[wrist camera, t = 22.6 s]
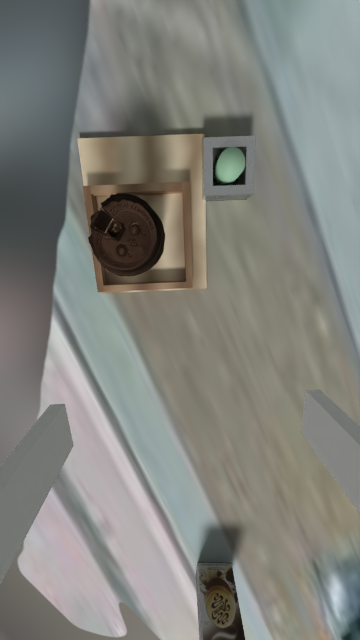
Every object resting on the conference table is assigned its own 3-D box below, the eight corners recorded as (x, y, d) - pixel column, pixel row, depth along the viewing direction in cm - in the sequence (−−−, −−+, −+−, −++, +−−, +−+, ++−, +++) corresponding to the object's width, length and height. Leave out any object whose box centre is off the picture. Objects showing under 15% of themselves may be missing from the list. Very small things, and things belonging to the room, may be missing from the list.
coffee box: (231, 562, 59) (252, 671, 44) (228, 578, 61) (247, 689, 45) (196, 561, 59) (205, 671, 43) (194, 578, 60) (202, 689, 45)
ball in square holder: (247, 147, 34) (255, 135, 31) (246, 199, 36) (253, 193, 32) (200, 149, 34) (203, 137, 30) (201, 201, 36) (204, 195, 32)
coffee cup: (105, 221, 35) (68, 202, 23) (157, 204, 35) (148, 176, 22) (125, 276, 38) (101, 286, 25) (174, 261, 37) (174, 264, 25)
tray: (203, 137, 33) (206, 126, 30) (205, 287, 39) (208, 290, 37) (79, 141, 33) (71, 131, 30) (101, 292, 39) (95, 295, 36)
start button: (238, 157, 33) (245, 146, 30) (237, 185, 34) (244, 177, 31) (213, 158, 33) (218, 147, 30) (213, 186, 34) (218, 178, 31)
